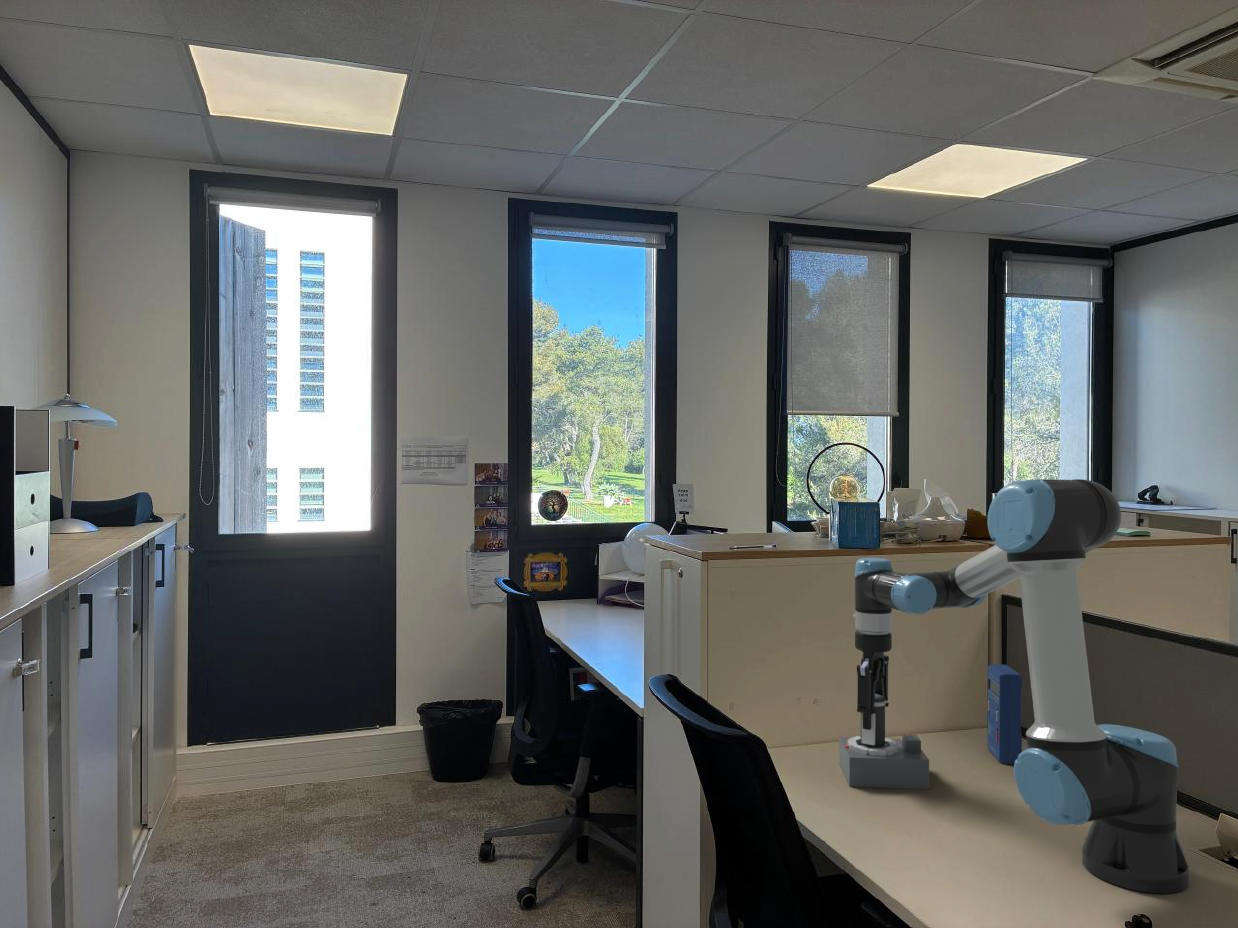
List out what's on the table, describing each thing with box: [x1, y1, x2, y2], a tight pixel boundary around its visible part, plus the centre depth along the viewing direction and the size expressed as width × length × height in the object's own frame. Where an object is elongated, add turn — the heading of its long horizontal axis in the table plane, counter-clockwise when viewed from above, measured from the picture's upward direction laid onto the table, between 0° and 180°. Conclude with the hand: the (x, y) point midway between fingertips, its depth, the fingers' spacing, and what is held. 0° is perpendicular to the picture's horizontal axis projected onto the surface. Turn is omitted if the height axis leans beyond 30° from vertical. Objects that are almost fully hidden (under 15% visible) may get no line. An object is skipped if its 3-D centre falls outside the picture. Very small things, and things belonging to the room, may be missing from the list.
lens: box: [860, 694, 887, 747], centre depth 188 cm, size 5×5×10 cm
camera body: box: [838, 734, 930, 790], centre depth 187 cm, size 13×16×8 cm
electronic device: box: [987, 664, 1023, 765], centre depth 199 cm, size 10×5×20 cm, turn 173°
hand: (872, 739), depth 188 cm, fingers closed on lens, 5 cm apart
